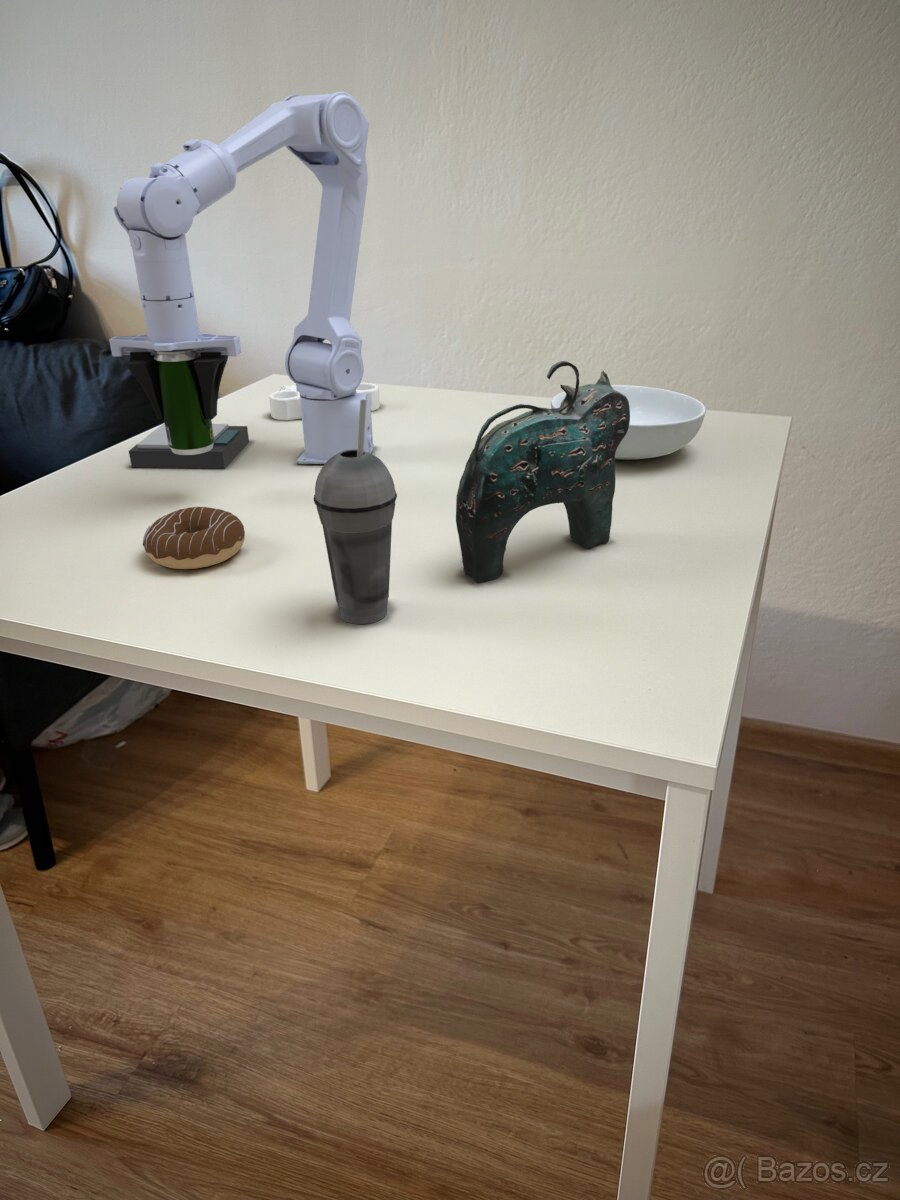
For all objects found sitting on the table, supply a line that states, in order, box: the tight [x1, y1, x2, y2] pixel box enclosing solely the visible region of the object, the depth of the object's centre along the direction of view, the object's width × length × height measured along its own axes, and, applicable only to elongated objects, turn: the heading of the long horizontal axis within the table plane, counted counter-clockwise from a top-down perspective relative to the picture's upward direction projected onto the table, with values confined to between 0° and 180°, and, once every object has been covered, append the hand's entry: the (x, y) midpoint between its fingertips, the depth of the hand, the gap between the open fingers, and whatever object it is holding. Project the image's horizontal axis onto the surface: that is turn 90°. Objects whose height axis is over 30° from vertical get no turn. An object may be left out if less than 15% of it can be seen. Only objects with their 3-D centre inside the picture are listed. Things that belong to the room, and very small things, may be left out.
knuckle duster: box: [268, 382, 381, 422], centre depth 142 cm, size 3×18×15 cm
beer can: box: [153, 349, 215, 455], centre depth 101 cm, size 5×5×12 cm
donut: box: [142, 506, 246, 570], centre depth 92 cm, size 11×11×4 cm
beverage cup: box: [313, 399, 398, 625], centre depth 76 cm, size 7×7×20 cm
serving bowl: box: [550, 384, 707, 461], centre depth 120 cm, size 21×21×7 cm
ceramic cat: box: [455, 360, 630, 584], centre depth 86 cm, size 20×6×20 cm, turn 124°
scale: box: [128, 422, 250, 470], centre depth 122 cm, size 13×12×3 cm
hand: (187, 417), depth 102 cm, fingers closed on beer can, 5 cm apart
